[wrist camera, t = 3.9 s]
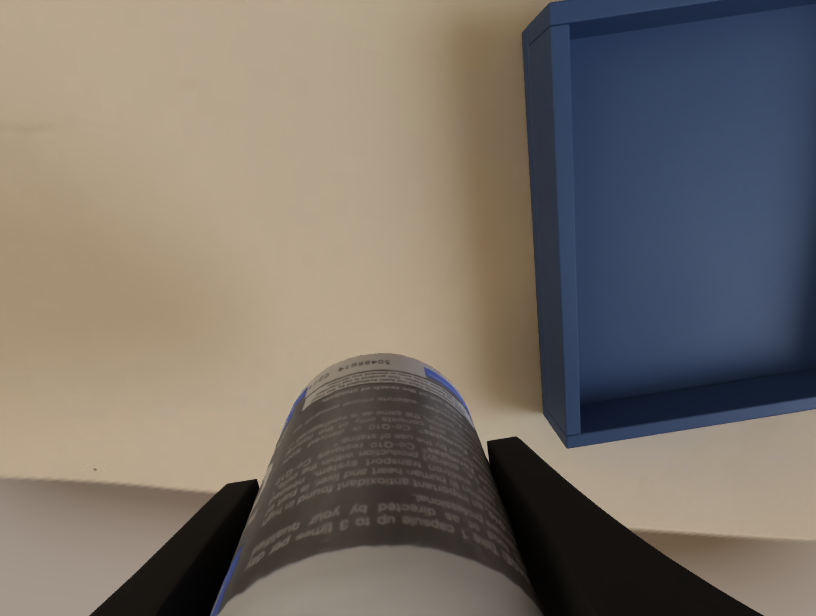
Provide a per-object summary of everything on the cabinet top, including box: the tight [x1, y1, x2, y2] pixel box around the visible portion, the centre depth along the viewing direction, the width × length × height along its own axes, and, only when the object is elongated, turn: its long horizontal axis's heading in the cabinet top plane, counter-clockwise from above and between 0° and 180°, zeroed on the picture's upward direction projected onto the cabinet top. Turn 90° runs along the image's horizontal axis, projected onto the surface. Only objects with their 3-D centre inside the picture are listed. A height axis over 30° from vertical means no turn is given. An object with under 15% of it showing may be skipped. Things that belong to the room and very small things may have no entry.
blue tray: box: [522, 0, 816, 448], centre depth 16 cm, size 15×13×3 cm
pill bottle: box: [210, 353, 544, 616], centre depth 7 cm, size 5×5×8 cm
